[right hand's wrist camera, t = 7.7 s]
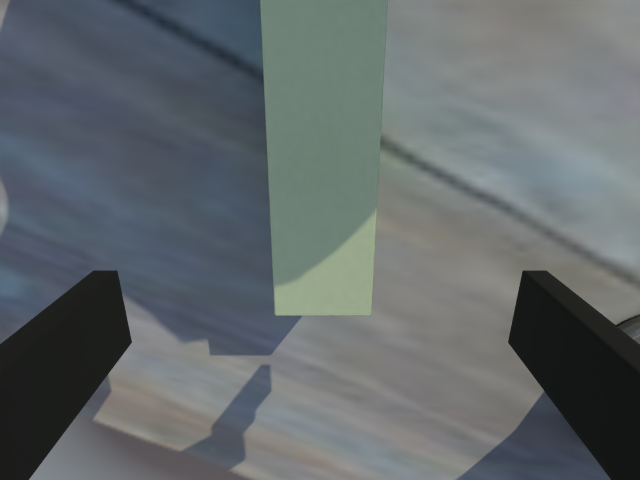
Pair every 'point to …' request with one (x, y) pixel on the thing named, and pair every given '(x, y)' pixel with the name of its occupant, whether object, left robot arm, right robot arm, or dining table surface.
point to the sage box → (323, 150)
